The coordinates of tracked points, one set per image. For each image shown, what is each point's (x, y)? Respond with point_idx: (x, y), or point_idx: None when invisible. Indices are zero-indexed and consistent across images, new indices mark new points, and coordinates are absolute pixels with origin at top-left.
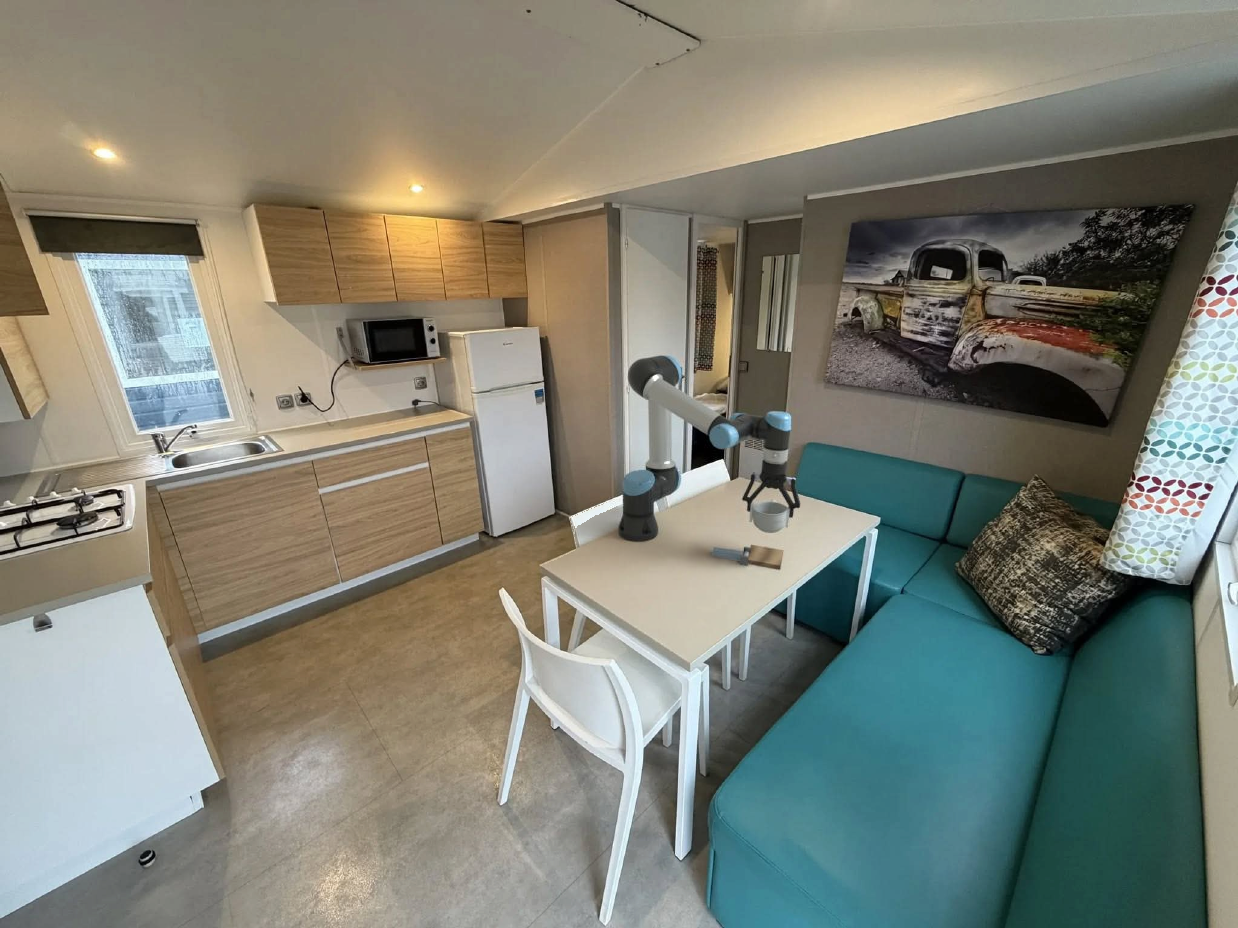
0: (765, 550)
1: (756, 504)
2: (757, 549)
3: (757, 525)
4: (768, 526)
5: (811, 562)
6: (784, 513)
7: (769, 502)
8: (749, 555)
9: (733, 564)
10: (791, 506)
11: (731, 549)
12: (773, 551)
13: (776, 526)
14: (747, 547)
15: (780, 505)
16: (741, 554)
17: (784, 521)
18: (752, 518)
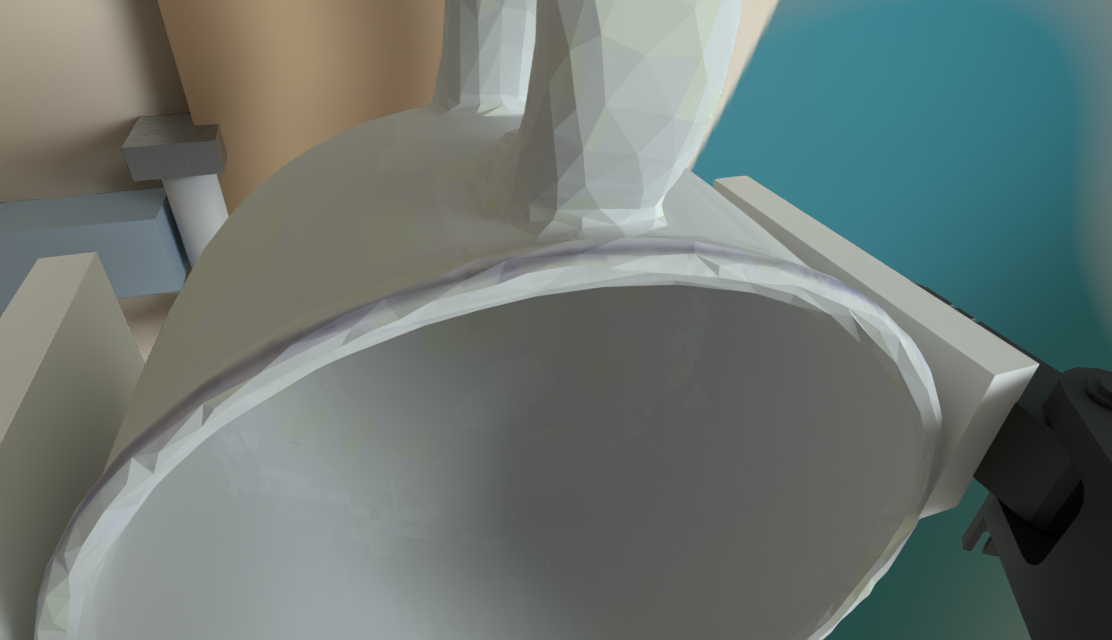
0: (356, 21)
1: (94, 591)
2: (265, 34)
3: (336, 544)
4: (510, 568)
5: (747, 5)
6: (812, 602)
7: (504, 295)
8: (237, 204)
9: (151, 334)
10: (1044, 546)
11: (5, 235)
12: (440, 8)
13: (610, 525)
14: (170, 153)
15: (821, 319)
16: (175, 290)
17: (734, 462)
18: (113, 328)
